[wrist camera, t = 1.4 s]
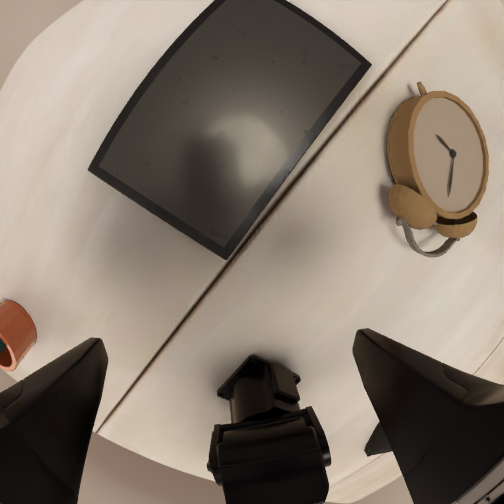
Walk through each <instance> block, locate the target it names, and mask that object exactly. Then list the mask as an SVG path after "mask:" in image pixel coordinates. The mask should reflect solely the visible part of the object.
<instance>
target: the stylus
mask: <svg viewBox="0 0 504 504" xmlns="http://www.w3.org/2000/svg"><path fill="white" fill-rule="evenodd" d="M5 347H6V344H5V343H4V342H3V340H2V339H1V338H0V354H1V352H2V351H3V350H4V349H5Z"/></svg>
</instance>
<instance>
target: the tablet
mask: <svg viewBox="0 0 504 504" xmlns="http://www.w3.org/2000/svg"><path fill="white" fill-rule="evenodd" d="M371 65H372V64H371V63H370V62H369V61H367V60H366V59H365V58H364V57H363V56H362V55H361V54H359V53H358V52H357V51H356V50H355V49H354V48H352V47H351V46H350V45H349V44H348V43H346V42H345V41H344V40H343V39H341V38H340V37H339V36H337V35H336V34H335V33H334V32H332V31H331V30H330V29H328V28H327V27H326V26H324V25H323V24H321V23H320V22H319V21H317V20H316V19H314V18H313V17H311V16H310V15H308V14H307V13H305V12H304V11H302V10H301V9H299V8H298V7H296V6H295V5H293V4H291V3H290V2H288V1H286V0H214V1H213V2H212V3H211V4H210V5H209V6H208V7H207V8H206V9H205V10H204V11H203V12H202V13H201V14H200V15H199V16H198V17H197V18H196V19H195V20H194V21H193V22H192V23H191V24H190V25H189V26H188V27H187V28H186V29H185V30H184V32H183V33H182V34H181V35H180V36H179V37H178V38H177V39H176V40H175V42H174V43H173V44H172V45H171V46H170V47H169V48H168V50H167V51H166V52H165V53H164V54H163V56H162V57H161V58H160V59H159V61H158V62H157V63H156V64H155V66H154V67H153V68H152V69H151V71H150V72H149V73H148V75H147V76H146V77H145V79H144V80H143V81H142V83H141V84H140V85H139V87H138V88H137V89H136V91H135V92H134V94H133V95H132V97H131V98H130V100H129V101H128V102H127V104H126V105H125V107H124V108H123V110H122V111H121V113H120V115H119V116H118V118H117V119H116V121H115V122H114V124H113V126H112V127H111V129H110V131H109V132H108V134H107V136H106V137H105V139H104V141H103V143H102V144H101V146H100V148H99V150H98V151H97V153H96V155H95V157H94V159H93V161H92V163H91V164H90V166H89V168H88V171H89V172H91V173H92V174H94V175H95V176H97V177H98V178H100V179H101V180H103V181H104V182H106V183H107V184H109V185H110V186H112V187H113V188H115V189H116V190H118V191H119V192H121V193H122V194H124V195H125V196H127V197H128V198H130V199H131V200H133V201H134V202H136V203H138V204H139V205H141V206H142V207H144V208H145V209H147V210H148V211H150V212H151V213H153V214H154V215H156V216H157V217H159V218H161V219H162V220H164V221H165V222H167V223H168V224H170V225H171V226H173V227H174V228H176V229H178V230H179V231H181V232H182V233H184V234H185V235H187V236H189V237H190V238H192V239H193V240H195V241H196V242H198V243H200V244H201V245H203V246H204V247H206V248H207V249H209V250H211V251H212V252H214V253H215V254H217V255H218V256H220V257H222V258H223V259H225V260H227V259H228V258H229V256H230V255H231V254H232V252H233V251H234V249H235V248H236V247H237V245H238V244H239V243H240V241H241V240H242V238H243V237H244V236H245V234H246V233H247V231H248V230H249V229H250V227H251V226H252V225H253V223H254V222H255V220H256V219H257V218H258V216H259V215H260V214H261V212H262V211H263V209H264V208H265V207H266V205H267V204H268V203H269V201H270V200H271V198H272V197H273V196H274V194H275V193H276V192H277V190H278V189H279V188H280V186H281V185H282V183H283V182H284V181H285V179H286V178H287V177H288V175H289V174H290V173H291V171H292V170H293V169H294V167H295V166H296V164H297V163H298V162H299V160H300V159H301V158H302V156H303V155H304V154H305V152H306V151H307V150H308V148H309V147H310V146H311V144H312V143H313V142H314V140H315V139H316V138H317V136H318V135H319V134H320V132H321V131H322V130H323V128H324V127H325V126H326V124H327V123H328V122H329V120H330V119H331V118H332V116H333V115H334V114H335V112H336V111H337V110H338V108H339V107H340V106H341V105H342V103H343V102H344V101H345V99H346V98H347V97H348V95H349V94H350V93H351V91H352V90H353V89H354V88H355V86H356V85H357V84H358V82H359V81H360V80H361V78H362V77H363V76H364V75H365V73H366V72H367V71H368V69H369V68H370V67H371Z"/></svg>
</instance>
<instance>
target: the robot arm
mask: <svg viewBox="0 0 504 504" xmlns="http://www.w3.org/2000/svg"><path fill="white" fill-rule="evenodd" d="M353 355H354V358H355V361H356V364H357V367H358V370H359V373H360V376H361V379H362V382H363V385H364V388H365V390H366V392H367V394H368V396H369V399H370V401H371V403H372V405H373V407H374V410H375V412H376V414H377V416H378V418H379V421H380V423H381V425H382V427H383V430H384V432H385V434H386V437H387V439H388V441H389V444H390V446H391V448H392V451H393V453H394V455H395V458H396V460H397V462H398V465H399V467H400V470H401V472H402V475H403V477H404V480H405V482H406V485H407V487H408V490H409V492H410V495H411V498H412V500H413V503H414V504H457V503H458V504H504V385H502V384H497V383H494V382H491V381H488V380H485V379H482V378H479V377H476V376H473V375H471V374H468V373H465V372H463V371H460V370H458V369H455V368H453V367H451V366H449V365H446V364H444V363H441V362H440V361H437V360H435V359H433V358H431V357H429V356H427V355H424V354H422V353H420V352H418V351H416V350H414V349H411V348H409V347H407V346H405V345H403V344H401V343H398V342H396V341H394V340H392V339H390V338H388V337H386V336H384V335H381V334H379V333H377V332H375V331H373V330H371V329H369V328H365V329H359V330H358V331H357V332H356V336H355V340H354V344H353ZM251 360H254V361H251ZM107 365H108V356H107V353H106V350H105V347H104V343H103V341H102V339H100V338H89V339H88V340H86V341H84V342H83V343H81V344H79V345H78V346H76V347H74V348H73V349H71V350H70V351H68V352H66V353H65V354H63V355H61V356H60V357H58V358H57V359H55V360H53V361H52V362H50V363H48V364H47V365H45V366H44V367H42V368H40V369H39V370H37V371H36V372H34V373H32V374H31V375H29V376H27V377H26V378H24V380H21V381H19V382H18V383H16V384H15V385H13V386H11V387H10V388H8V389H6V390H4V391H2V392H1V393H0V504H77V501H78V495H79V488H80V483H81V478H82V473H83V468H84V463H85V459H86V454H87V450H88V446H89V442H90V438H91V433H92V430H93V426H94V422H95V419H96V415H97V411H98V408H99V404H100V401H101V397H102V392H103V386H104V381H105V376H106V370H107ZM294 379H295V380H294ZM300 380H301V379H300V376H299V375H297V374H295V373H293V372H291V371H290V370H288V369H286V368H283V367H281V366H279V365H277V364H275V363H270V362H268V361H266V360H264V359H261V358H259V357H257V356H255V355H251V356H249V357H248V358H247V359H246V360H245V361H244V362H243V363H242V364H241V366H240V367H239V368H238V369H237V370H236V371H235V372H234V373H233V374H232V375H231V376H230V377H229V379H228V380H227V381H226V382H225V383H224V384H223V385H222V386H221V387H220V388H219V389H218V390H217V395H218V396H219V397H221V398H223V399H226V400H228V401H230V413H231V423H230V424H223V425H221V424H216V425H214V431H213V432H212V438H211V445H210V452H209V460H208V463H207V469H208V471H210V472H211V473H213V476H214V479H215V481H216V483H217V484H218V485H219V486H223V491H224V495H225V499H226V504H322V503H324V502H325V500H326V497H327V494H328V491H329V482H328V478H327V474H326V470H325V467H327V466H330V465H331V455H330V450H329V446H328V442H327V439H326V436H325V433H324V431H323V429H322V427H321V425H320V423H319V421H318V419H317V416H316V414H315V412H314V410H313V408H312V406H310V407H306V409H302V410H300V407H299V404H298V401H299V400H300V396H299V393H298V390H297V387H296V385H297V384H298V383H299V382H300Z"/></svg>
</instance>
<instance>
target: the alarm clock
mask: <svg viewBox="0 0 504 504" xmlns="http://www.w3.org/2000/svg"><path fill="white" fill-rule="evenodd" d="M417 86H418V89H419V91H420V94H421V96H418V97H412V98H410V99H409V100H407V101H405V102H404V103H402V104H400V106H399V107H398V109H397V110H396V112H395V113H394V115H393V116H392V118H391V122H390V126H389V130H388V134H387V156H388V160H389V164H390V168H391V172H392V176H393V178H394V180H395V182H396V184H394V185H393V186H392V187H391V189H390V191H389V194H388V201H389V206H390V208H391V210H392V212H393V213H394V215H395V216H396V218H397V221H396V224H397V225H398V226H400V225H402V226H403V229H404V232H405V236H406V239H407V241H408V243H409V245H410V246H411V248H412V249H413V250H415V251H416V252H418V253H420V254H422V255H424V256H427V257H439V256H441V255H443V254H445V253H446V252H447V251H448V250H449V249H450V248H451V246H452V245H453V244H454V243H455V242H456V241H459V240H460V238H462V237H465V236H467V235H469V234H470V233H471V232H472V231H473V230H474V228H475V226H476V224H477V215H476V213H474V212H472V211H473V210H474V209H475V208H476V207H477V206H478V205H479V203H480V201H481V199H482V197H483V195H484V192H485V190H486V185H487V180H488V175H489V156H488V150H487V145H486V140H485V137H484V134H483V132H482V129H481V127H480V124H479V122H478V120H477V119H476V117H475V116H474V114H473V113H472V111H471V110H470V108H469V107H468V106H467V105H466V104H465V103H464V102H463V101H462V100H460V99H459V98H458V97H457V96H455V95H452V94H450V93H448V92H446V91H432V92H429V93H427V92H426V90H425V88H424V86H423V85H422V83H421V82H418V83H417ZM432 225H434V226H435V228H436V230H437V231H438V232H439V233H440V234H441V235H443V236H445V237H448V238H449V239H448V240H446V241H445V243H444V244H443V245H442V246H441V247H440V248H439V249H437V250H435V251H431V252H424V251H422V250H421V249H420V248H419V247H418V246H417V244H416V242H415V240H414V237H413V233H412V231H411V228H414V229H419V230H420V229H426V228H429V227H430V226H432ZM410 227H411V228H410Z"/></svg>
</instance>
